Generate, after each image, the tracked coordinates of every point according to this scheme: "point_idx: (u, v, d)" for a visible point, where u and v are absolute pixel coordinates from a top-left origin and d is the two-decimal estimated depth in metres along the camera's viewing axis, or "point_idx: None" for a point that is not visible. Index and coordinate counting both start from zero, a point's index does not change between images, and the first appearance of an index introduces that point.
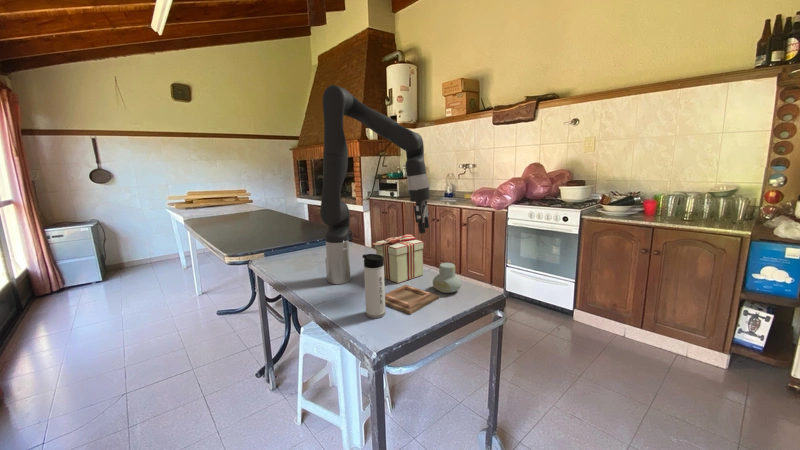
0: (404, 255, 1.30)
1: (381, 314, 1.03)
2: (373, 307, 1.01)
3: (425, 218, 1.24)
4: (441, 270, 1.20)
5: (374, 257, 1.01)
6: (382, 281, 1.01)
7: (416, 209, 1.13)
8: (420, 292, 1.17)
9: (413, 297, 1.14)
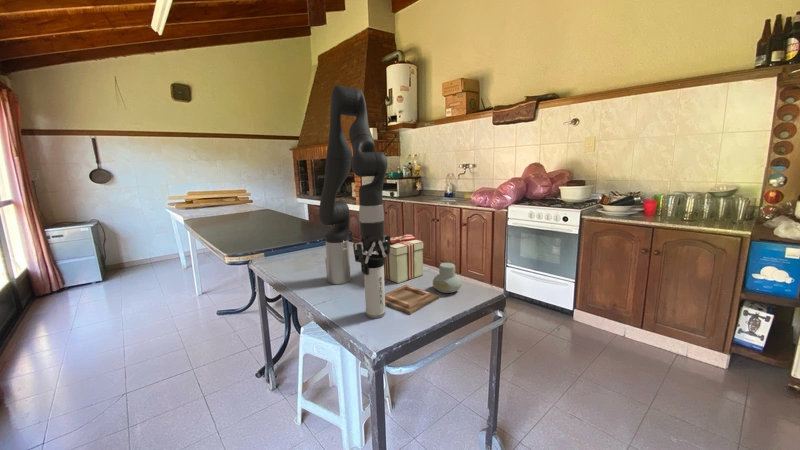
0: (404, 255, 1.30)
1: (381, 314, 1.03)
2: (373, 307, 1.01)
3: None
4: (441, 270, 1.20)
5: (373, 257, 1.01)
6: (382, 281, 1.01)
7: (355, 248, 0.96)
8: (420, 292, 1.17)
9: (413, 297, 1.14)
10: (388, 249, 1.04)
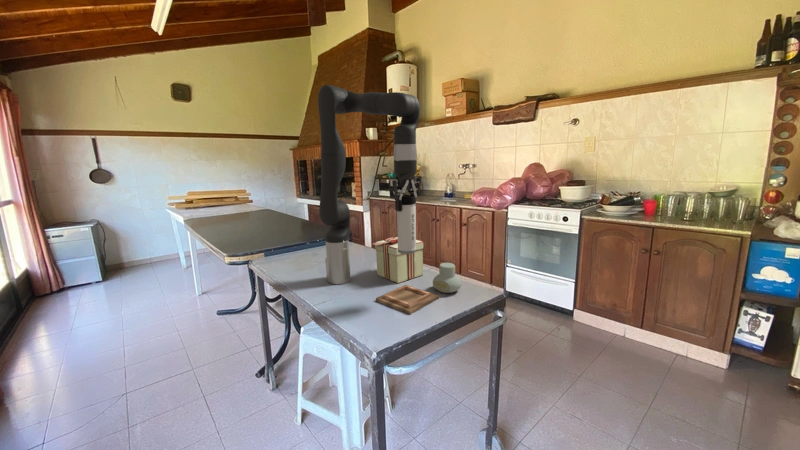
0: (404, 255, 1.30)
1: (413, 250, 1.09)
2: (405, 243, 1.08)
3: None
4: (441, 270, 1.20)
5: (406, 196, 1.08)
6: (414, 218, 1.08)
7: (390, 184, 1.02)
8: (420, 292, 1.17)
9: (413, 297, 1.14)
10: (419, 190, 1.11)
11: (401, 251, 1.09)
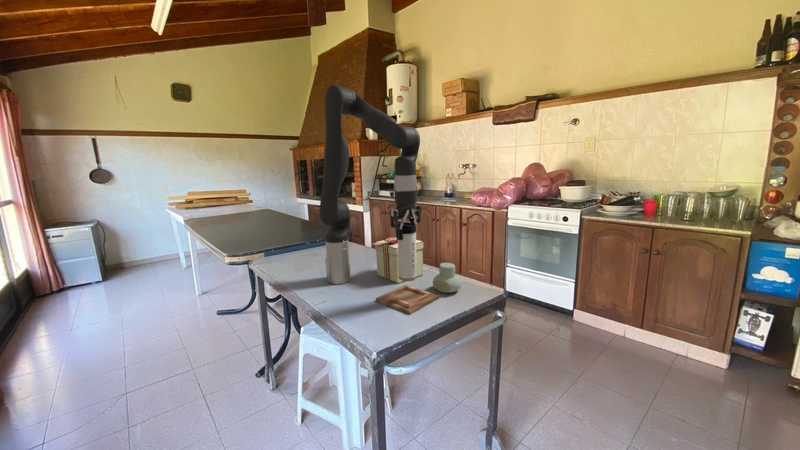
0: None
1: (413, 277, 1.11)
2: (406, 271, 1.10)
3: None
4: (441, 270, 1.20)
5: (407, 225, 1.10)
6: (414, 246, 1.10)
7: (391, 214, 1.04)
8: (420, 292, 1.17)
9: (413, 297, 1.14)
10: (419, 218, 1.13)
11: (402, 278, 1.11)
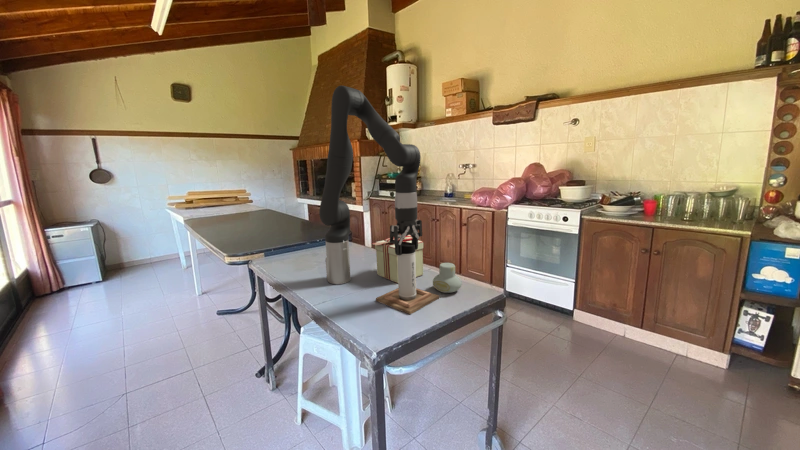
0: None
1: (413, 296, 1.13)
2: (406, 290, 1.11)
3: (414, 239, 1.14)
4: (441, 270, 1.20)
5: (406, 244, 1.11)
6: (414, 266, 1.11)
7: (391, 229, 1.05)
8: (420, 292, 1.17)
9: None
10: (420, 232, 1.14)
11: (402, 297, 1.12)
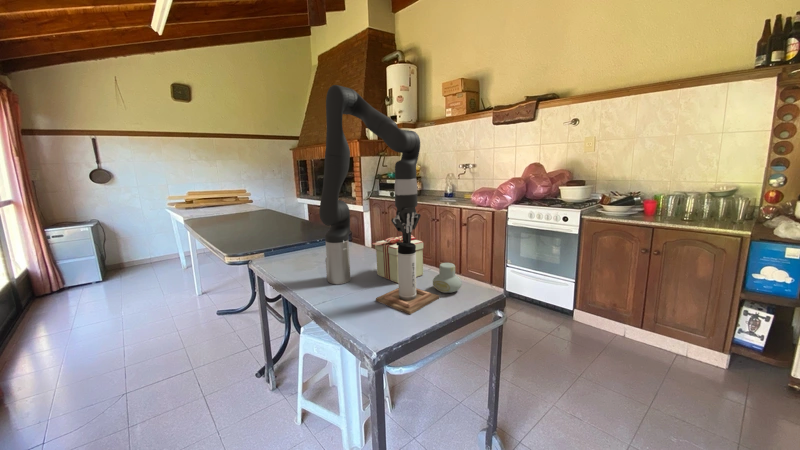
0: None
1: (413, 296, 1.13)
2: (406, 290, 1.11)
3: None
4: (441, 270, 1.20)
5: (407, 245, 1.11)
6: (414, 266, 1.11)
7: (394, 223, 1.06)
8: (420, 292, 1.17)
9: None
10: (415, 225, 1.11)
11: (402, 297, 1.12)
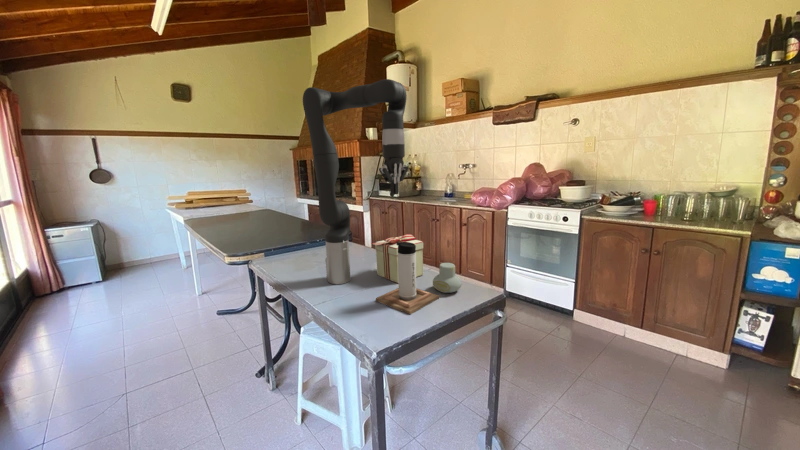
0: None
1: (413, 296, 1.13)
2: (406, 290, 1.11)
3: None
4: (441, 270, 1.20)
5: (407, 245, 1.11)
6: (414, 266, 1.11)
7: (381, 172, 1.08)
8: (420, 292, 1.17)
9: None
10: (402, 177, 1.14)
11: (402, 297, 1.12)
